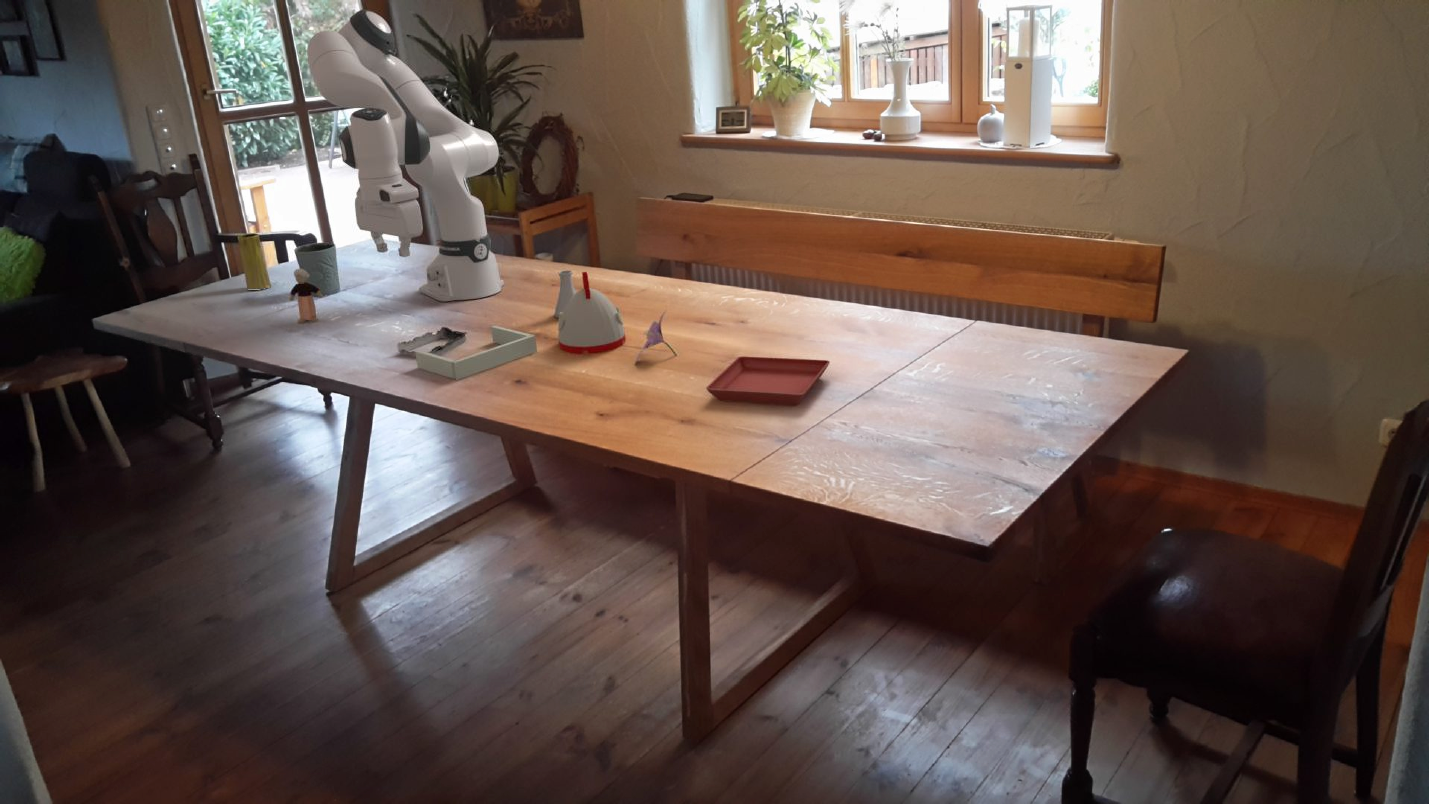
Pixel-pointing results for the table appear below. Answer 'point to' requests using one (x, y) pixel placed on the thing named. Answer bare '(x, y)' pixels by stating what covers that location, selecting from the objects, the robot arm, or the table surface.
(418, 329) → the table surface
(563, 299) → the flask
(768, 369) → the plant saucer
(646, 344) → the lily
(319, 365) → the table surface
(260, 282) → the vase
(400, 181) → the robot arm
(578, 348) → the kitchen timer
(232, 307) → the table surface
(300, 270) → the grandmother figurine
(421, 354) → the frame
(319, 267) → the green plant pot
